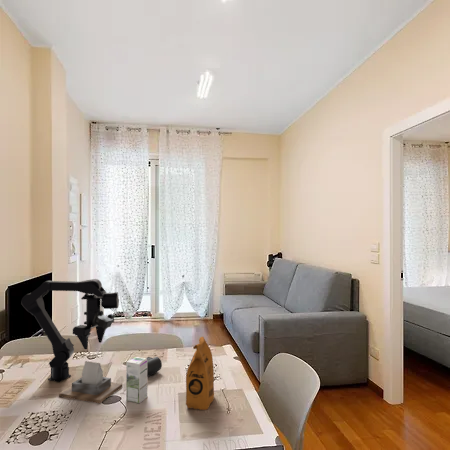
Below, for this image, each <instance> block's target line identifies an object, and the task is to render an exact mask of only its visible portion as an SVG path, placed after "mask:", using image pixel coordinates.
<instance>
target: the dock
mask: <svg viewBox="0 0 450 450" xmlns="http://www.w3.org/2000/svg"><path fill="white" fill-rule="evenodd" d="M121 387H122V388H123V383H118V382H112V378H111V377H106V376H103V382H101V383H99V384H98V385H90V384H84V383H82V377H80V378H78V379H76V380H75V381H73V382H71V386H69V387H67V388H66V389H64V390H62V391H60V392H59V393H58V397H61V398H65V399H71V400H77V401H83V402H88V403H95V404H101V403H102V402H104V401H105V400H106V398H107V399H108V398H109V397H110V396H112V395H114V392H115V393H116V392H118V391H119V390H120V389H121ZM118 389H119V390H118Z"/></svg>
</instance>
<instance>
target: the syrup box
mask: <svg viewBox="0 0 450 450" xmlns="http://www.w3.org/2000/svg"><path fill="white" fill-rule="evenodd" d="M125 364H126V367H125V368H126V369H125V370H126V374H125V375H126V379H125V380H126V383H125V384H126V388H125V389H126V394H125V395H126V397H125V398H126V401H127V402H131V403H136V404H140V403H142V402H143V401H145V400H146V399H147V398H148V377H147V357H138V356H134V357H132V358H129V359H128V360H127V361H126V363H125Z"/></svg>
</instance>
